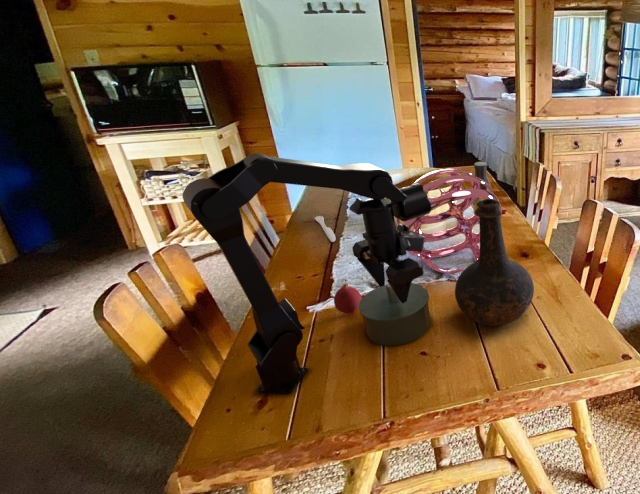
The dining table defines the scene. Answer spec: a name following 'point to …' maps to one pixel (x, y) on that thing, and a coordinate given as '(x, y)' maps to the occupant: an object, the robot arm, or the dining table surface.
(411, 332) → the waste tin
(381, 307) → the tin lid
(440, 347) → the dining table surface
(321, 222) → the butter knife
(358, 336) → the dining table surface
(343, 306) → the onion
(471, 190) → the pink openwork sphere
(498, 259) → the glass bottle
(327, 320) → the dining table surface
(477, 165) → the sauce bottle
